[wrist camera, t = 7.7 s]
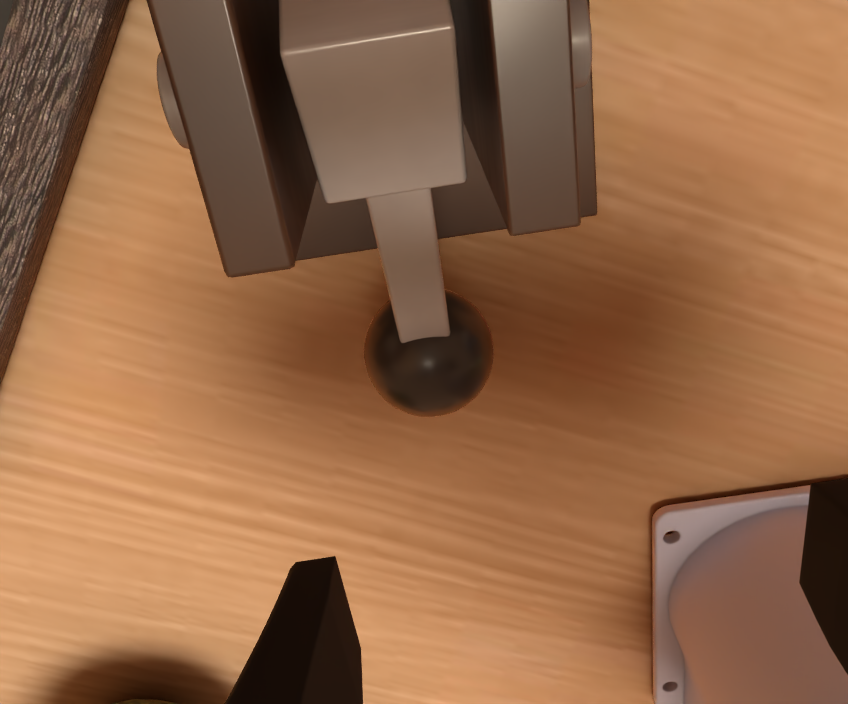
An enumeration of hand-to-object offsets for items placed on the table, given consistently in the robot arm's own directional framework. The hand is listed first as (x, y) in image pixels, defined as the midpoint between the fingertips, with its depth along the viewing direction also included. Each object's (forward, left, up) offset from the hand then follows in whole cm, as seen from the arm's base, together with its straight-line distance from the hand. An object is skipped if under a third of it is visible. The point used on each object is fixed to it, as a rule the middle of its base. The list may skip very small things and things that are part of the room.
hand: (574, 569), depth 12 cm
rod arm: (+4, +2, -6) cm, 8 cm away
